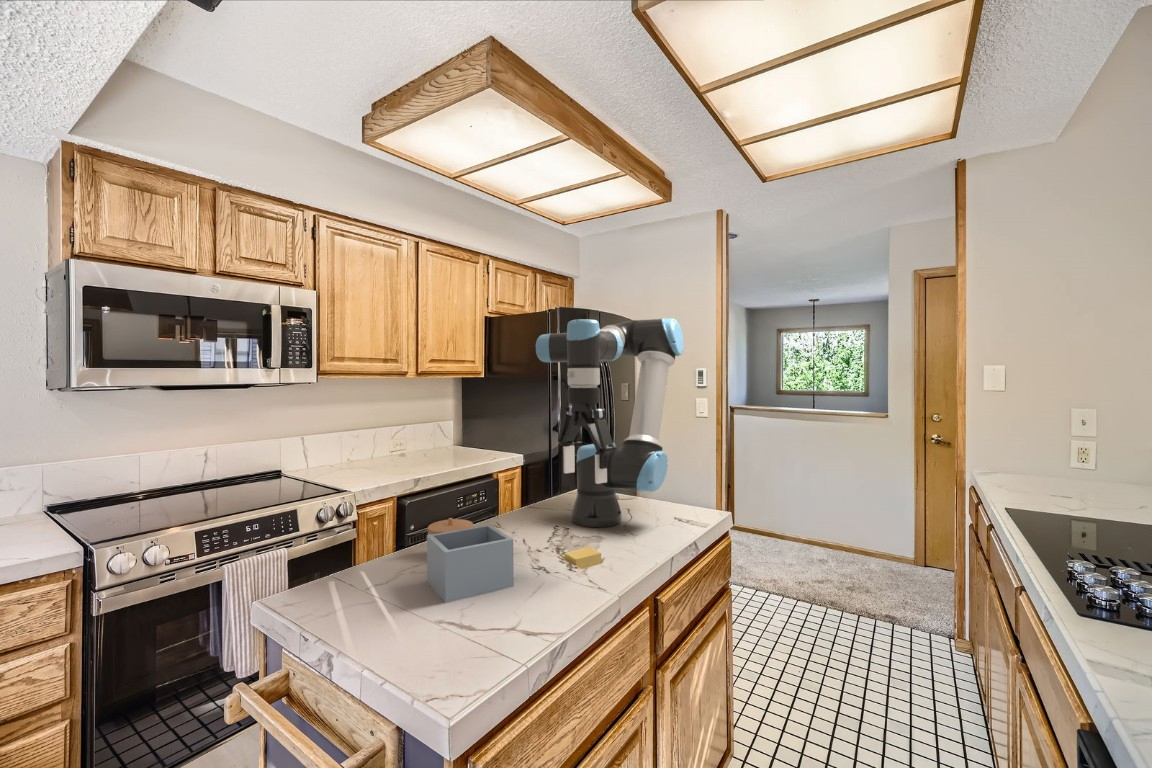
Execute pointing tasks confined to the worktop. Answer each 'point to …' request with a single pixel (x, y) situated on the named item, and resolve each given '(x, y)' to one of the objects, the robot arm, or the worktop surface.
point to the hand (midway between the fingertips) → (584, 477)
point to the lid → (583, 557)
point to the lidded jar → (448, 526)
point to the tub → (469, 562)
